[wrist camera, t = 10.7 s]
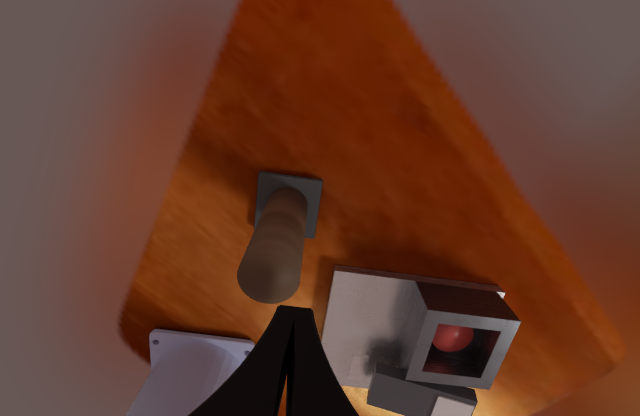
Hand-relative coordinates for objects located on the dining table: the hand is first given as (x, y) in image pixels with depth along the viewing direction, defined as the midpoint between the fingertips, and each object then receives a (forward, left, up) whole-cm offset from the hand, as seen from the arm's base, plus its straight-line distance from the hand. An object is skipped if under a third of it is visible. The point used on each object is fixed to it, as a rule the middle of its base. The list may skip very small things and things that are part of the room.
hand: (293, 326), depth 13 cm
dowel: (+1, +1, -9) cm, 9 cm away
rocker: (-11, -10, -7) cm, 16 cm away
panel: (-8, -8, -10) cm, 15 cm away
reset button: (-6, -11, -9) cm, 15 cm away
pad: (+1, +1, -10) cm, 10 cm away
